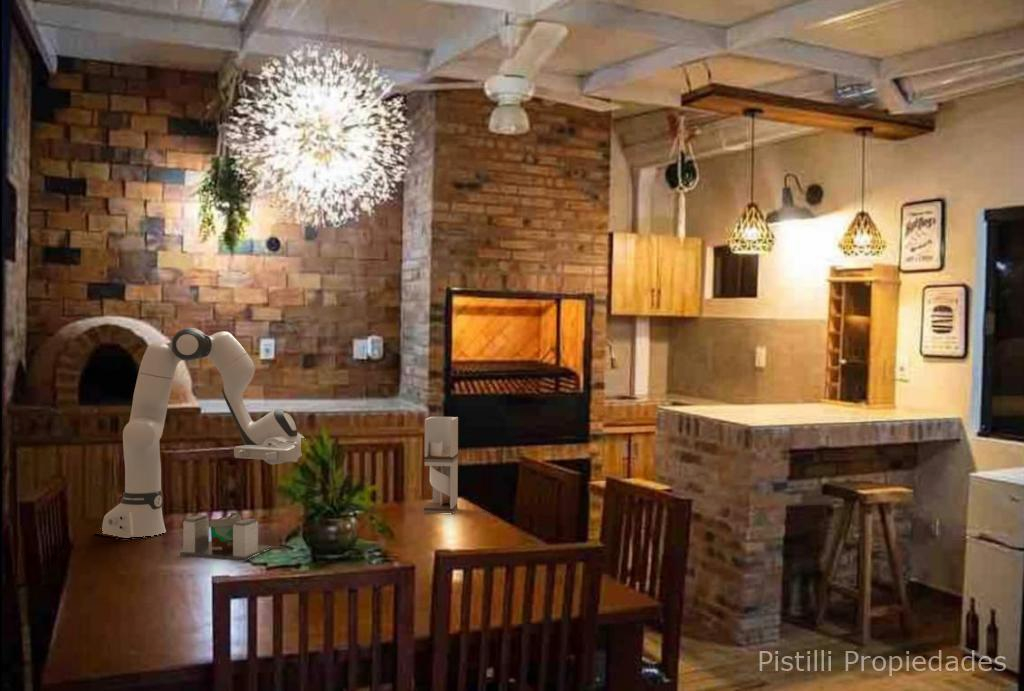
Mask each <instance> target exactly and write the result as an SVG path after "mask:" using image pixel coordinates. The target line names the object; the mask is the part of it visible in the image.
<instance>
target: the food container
mask: <svg viewBox="0 0 1024 691" xmlns="http://www.w3.org/2000/svg"><path fill="white" fill-rule="evenodd" d="M241 520H243V519H242V516H241V514H240V513H239V512H238V513H237V512H230V515H229V516H222V517H220V518H218V519H210V518H209V528H210V537H211V540H210V541H211V542H212V552H228V551H233V525H235V522H238V521H241Z"/></svg>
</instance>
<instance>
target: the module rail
mask: <svg viewBox="0 0 1024 691" xmlns="http://www.w3.org/2000/svg"><path fill="white" fill-rule="evenodd" d="M182 523H183V524H182V531H183V533H182V534H183V535H182V537H183V538H182V539H183V540H182V544H183V545H182V548H183V549H182V551H180V552H179V556H182V557H193V558H203V557H204V558H206V559H219V560H228V559H229V560H230V561H239V560H246V559H248V558H250V557H252V556H253V555H255V554H257V553H259V552H261V551H264V550H267V549H271V548H272V549H273V546H271V545H260V544H259V521H257V518H243V519H242V520H241V521H238V522H235V525H233V551H228V552H212V541H211V540H210V538H209V537H210V535H209V534H210V531H209V530H210V527H209V525H210V518H209V517H208V516H207V515H200V514H198V515H193V516H191V517H190V516H189V517H187V518H185V520H184V521H183V522H182ZM229 560H228V561H229ZM246 561H247V560H246Z"/></svg>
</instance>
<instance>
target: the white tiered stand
mask: <svg viewBox="0 0 1024 691" xmlns="http://www.w3.org/2000/svg"><path fill="white" fill-rule="evenodd" d="M458 448H459V417H458V416H455V417H454V416H429V417H427V418H425V419H424V467H429V483H430V485H431V487H432V501H431V502H429V503H428V504H427V505H426V506H424V508H423V509H424V510H423V511H424V512H423V513H424V514H425V513H451V514H450V515H453V514H454V513H455V512H456V511H457V510H456V509H458V503H459V502H458V501H459V500H458V497H459V496H458V493H459V492H458V489H459V487H458V486H459V485H458V484H459V483H458V480H459V479H458V478H459V476H458V475H459V474H458V472H459V470H458V469H459V464H458V463H459V462H458V461H459V460H458V459H459V449H458ZM455 510H456V511H455ZM454 511H455V512H454ZM453 512H454V513H453Z"/></svg>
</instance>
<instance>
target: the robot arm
mask: <svg viewBox="0 0 1024 691" xmlns="http://www.w3.org/2000/svg"><path fill="white" fill-rule="evenodd" d="M202 358H207V359H209V360H210V361H211V362H212V363H213V365H214V367H216V369H217V371H218V372H219V374H220V376H221V379H222V382H223V385H222V388H221V390H222V396H223V398H224V400H225V403H226V405H227V407H228V409H229V412H230V413H231V415H232V417H233V421H234V422H235V424H236V426H237V428H238V431H239V433H240V436H241V440H242V443H243V445H238V446H237V445H236V446H235V447H234V448H233V455H234V458H235V459H251V460H263V461H264V462H265V463H266V464H269V465H278V464H283V463H297V462H298V461H299V458H301V457H302V456H303V455H302V453H301V438H305V437H304V435H302V434H301V433H299V432H298V426H297V422H296V421H295V419H294V417H293V416H292V414H291V413H289V411H286V410H284V409H282V408H275V409H274V410H272V411H270V412H268V413H267V414H266V415H264V416H263V417H261V418H259V419H258V420H256V421H254V420H253V419H252V418H251V416H250V413H249V410H248V409H247V407H246V404H245V403H244V398H243V397H244V393H245V391H246V389H247V388H248V387H249V385H250V383H252V381H253V378H254V376H255V373H256V371H255V370H256V369H255V368H256V367H255V364H254V362H253V359H252V358H251V357H250V355H249V354H248V352H247V351H246V349H245V348H244V347H243V346H242V344H241V343H240V341H238V340H237V339H236V338H235V336H233V334H231V332H229V331H218V332H215V333H213V334H212V335H207V334H206V333H204V332H203V331H202V330H200V329H199V328H196V327H185V328H182V329H180V330H178V331H177V332H175V334H174V335H173V336H172V338H171V341H169V342H163V341H156V342H155V341H154V342H153V343H150V344H149V345H148V346H147V348H146V350H145V352H144V354H143V357H142V360H141V362H140V365H139V369H138V373H137V378H136V383H135V388H134V390H133V391H134V392H133V396H132V403H131V404H132V405H131V410H130V416H129V421H128V423H126V425H125V426H124V427H123V430H122V441H123V442H122V445H123V446H122V449H123V458H124V459H123V461H124V491H123V492H122V493H119V494H118V493H117V496H118V497H117V499H120V498H121V499H120V503H118V504H117V505H116V506H115V507H113V508H112V509H110V511H108V512H107V513H106V514H105V515H104V517H103V520H102V525H101V526H102V527H101V528H102V531H103V532H102V533H103V534H108V535H113V536H118V537H123V538H130V537H143V536H144V537H143V538H146V537H145V536H151V537H155V536H154V535H157V536H160V535H159V534H161V535H163V534H162V533H164V534H165V533H167V530H166V527H165V526H166V525H165V522H164V517H163V510H162V505H163V490H162V466H161V465H162V462H161V449H160V448H161V446H160V444H161V443H160V439H161V438H162V436H163V433H164V432H163V431H164V428H165V423H166V416H167V412H168V405H169V400H170V397H171V396H170V395H171V391H172V387H173V383H174V379H175V375H176V374H175V373H176V370H177V366H178V365H179V363H180V362H182V361H186V362H188V361H189V362H192V361H193V362H194V361H197V360H199V359H202Z"/></svg>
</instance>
